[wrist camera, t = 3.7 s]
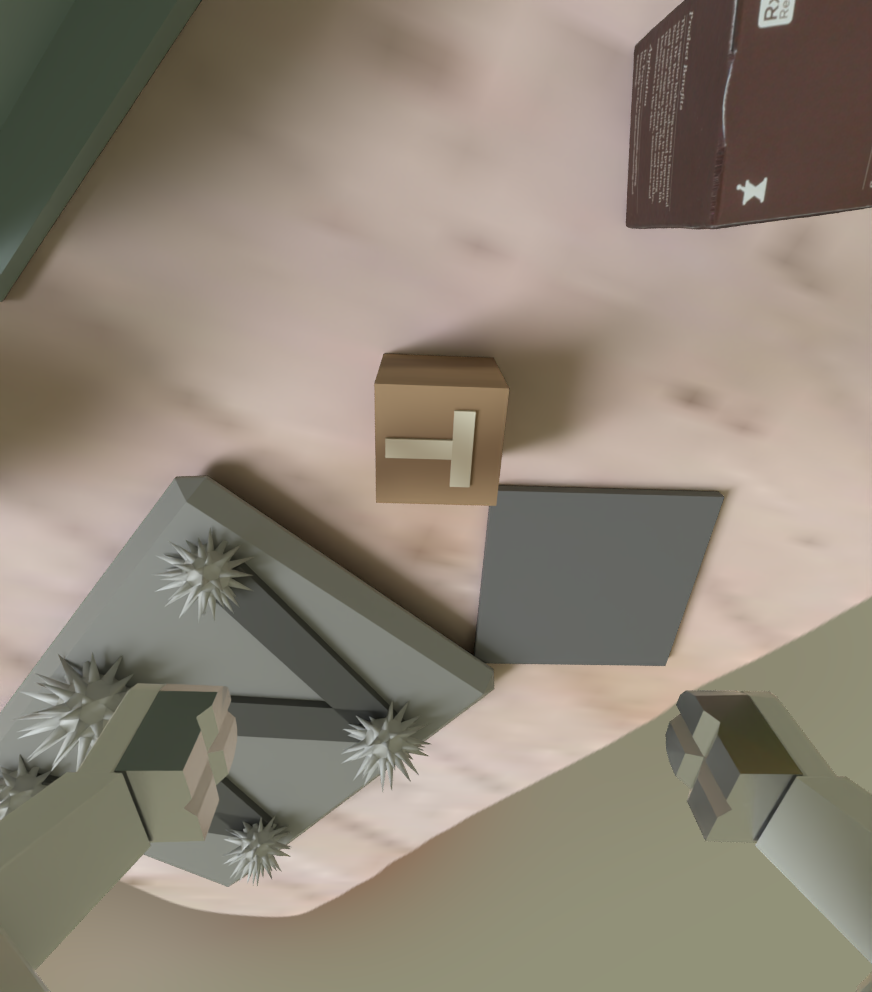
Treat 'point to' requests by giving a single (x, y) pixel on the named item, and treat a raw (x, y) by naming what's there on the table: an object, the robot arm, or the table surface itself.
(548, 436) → the table surface
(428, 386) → the letter cube
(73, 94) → the screen
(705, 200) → the box
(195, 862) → the grey spiky constellation board
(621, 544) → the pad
